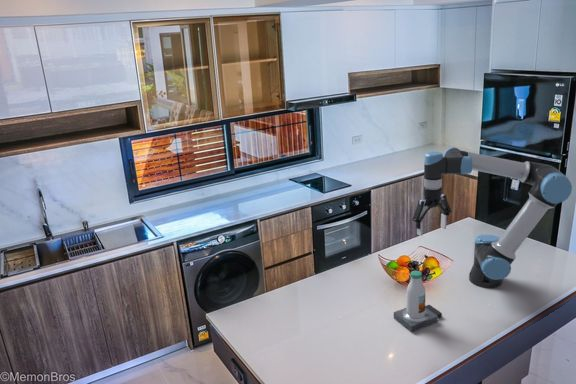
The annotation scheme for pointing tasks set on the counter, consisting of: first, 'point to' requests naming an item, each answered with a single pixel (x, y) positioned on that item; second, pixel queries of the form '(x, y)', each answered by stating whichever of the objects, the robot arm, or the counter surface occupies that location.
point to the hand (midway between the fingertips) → (431, 231)
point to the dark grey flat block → (416, 324)
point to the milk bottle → (416, 296)
